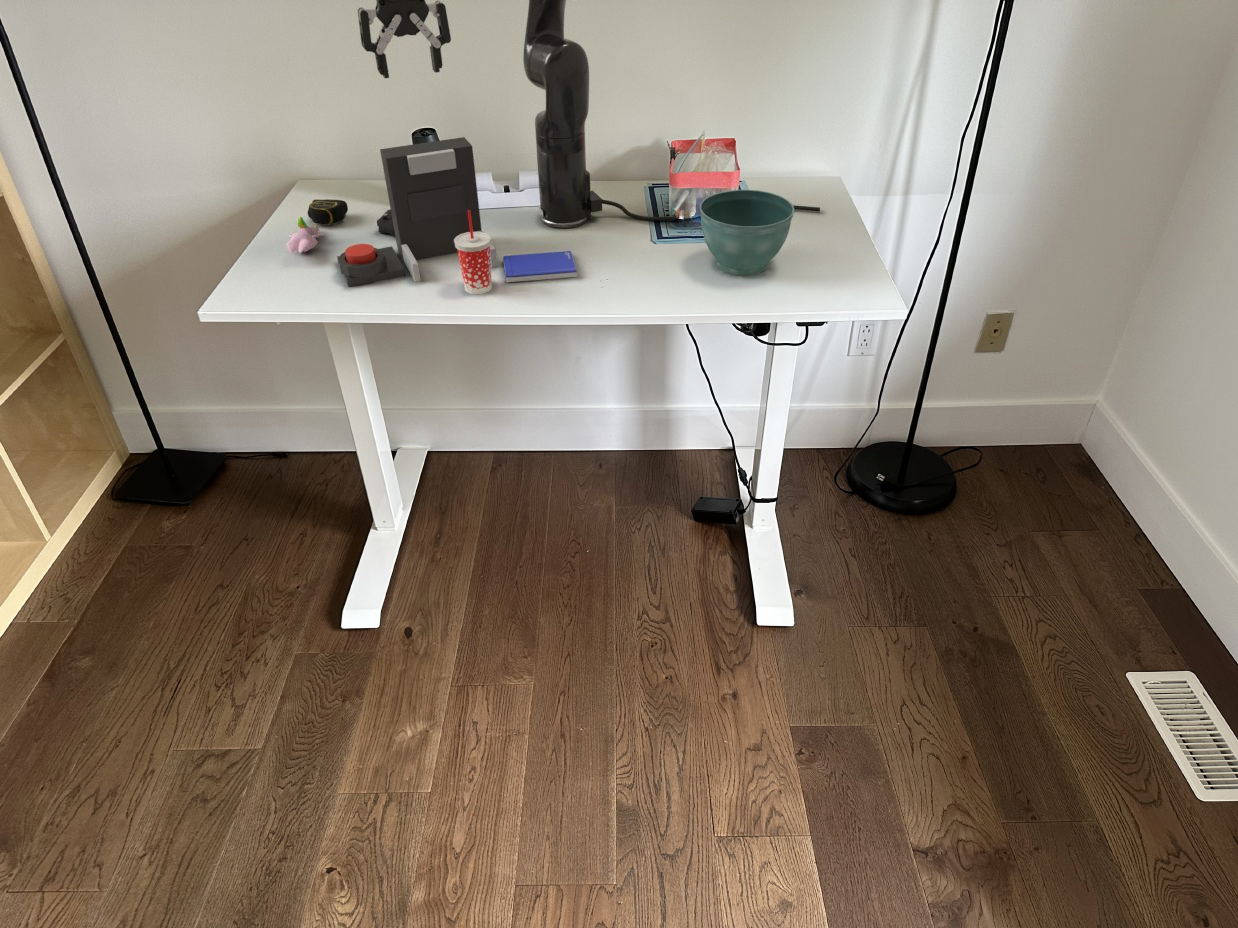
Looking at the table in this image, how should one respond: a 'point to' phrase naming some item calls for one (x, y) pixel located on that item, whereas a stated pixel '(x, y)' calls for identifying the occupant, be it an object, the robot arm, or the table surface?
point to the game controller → (386, 223)
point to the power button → (360, 254)
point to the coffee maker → (431, 198)
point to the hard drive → (539, 266)
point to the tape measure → (327, 211)
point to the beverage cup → (474, 259)
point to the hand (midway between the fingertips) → (411, 74)
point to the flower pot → (745, 228)
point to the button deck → (372, 268)
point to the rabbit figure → (303, 238)
